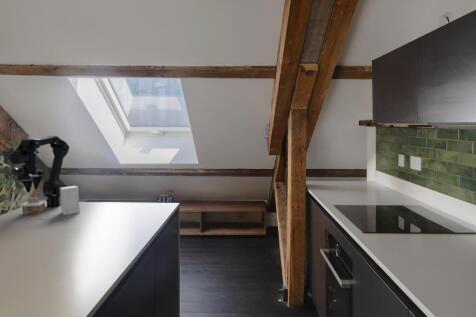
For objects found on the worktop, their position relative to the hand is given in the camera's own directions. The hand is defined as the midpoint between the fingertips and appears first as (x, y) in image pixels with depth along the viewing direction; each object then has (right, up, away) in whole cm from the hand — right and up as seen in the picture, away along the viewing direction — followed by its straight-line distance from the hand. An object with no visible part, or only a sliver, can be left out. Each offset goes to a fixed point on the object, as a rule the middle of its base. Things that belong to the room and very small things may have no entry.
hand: (32, 190), depth 174 cm
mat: (+4, -13, -3) cm, 14 cm away
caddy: (0, -12, +1) cm, 13 cm away
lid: (0, -8, +1) cm, 8 cm away
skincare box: (+19, -13, +3) cm, 23 cm away
